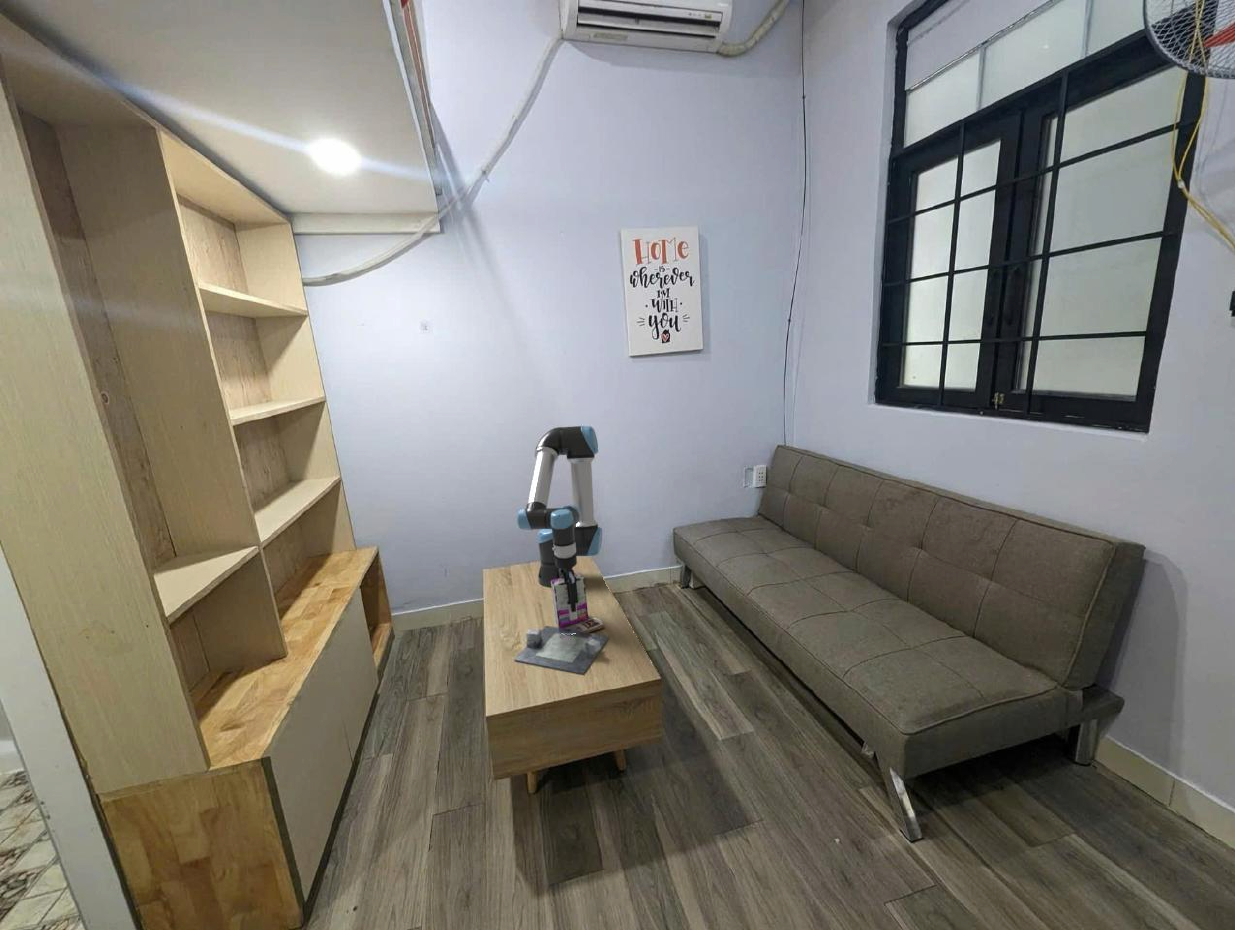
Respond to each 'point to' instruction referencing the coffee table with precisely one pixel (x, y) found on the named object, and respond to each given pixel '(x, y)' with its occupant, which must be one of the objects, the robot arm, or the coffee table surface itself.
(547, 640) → the base
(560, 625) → the candy bar box
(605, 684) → the coffee table surface
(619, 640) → the coffee table surface
